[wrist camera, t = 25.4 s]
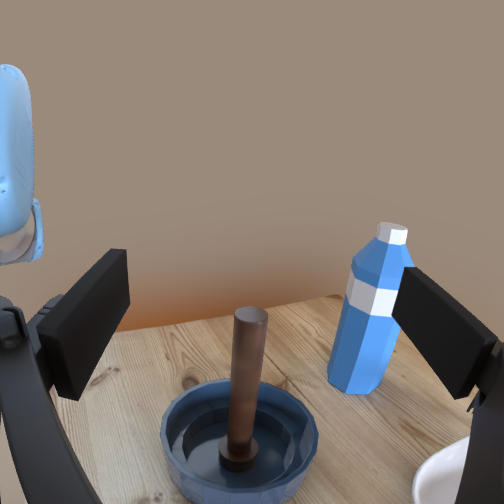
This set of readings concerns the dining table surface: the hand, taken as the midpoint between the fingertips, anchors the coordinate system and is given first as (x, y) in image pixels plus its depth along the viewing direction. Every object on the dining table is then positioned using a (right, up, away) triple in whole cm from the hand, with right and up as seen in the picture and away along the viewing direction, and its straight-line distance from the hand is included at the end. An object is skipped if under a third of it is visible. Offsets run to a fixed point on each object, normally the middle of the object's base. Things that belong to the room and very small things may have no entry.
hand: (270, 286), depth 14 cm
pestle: (-2, -22, +17) cm, 28 cm away
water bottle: (+16, -19, +33) cm, 41 cm away
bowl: (-3, -23, +17) cm, 28 cm away
